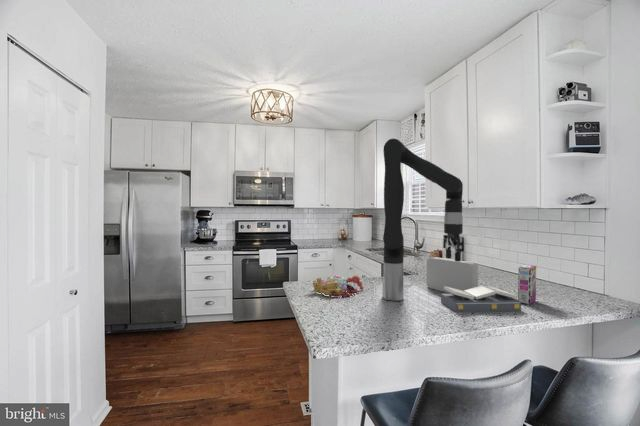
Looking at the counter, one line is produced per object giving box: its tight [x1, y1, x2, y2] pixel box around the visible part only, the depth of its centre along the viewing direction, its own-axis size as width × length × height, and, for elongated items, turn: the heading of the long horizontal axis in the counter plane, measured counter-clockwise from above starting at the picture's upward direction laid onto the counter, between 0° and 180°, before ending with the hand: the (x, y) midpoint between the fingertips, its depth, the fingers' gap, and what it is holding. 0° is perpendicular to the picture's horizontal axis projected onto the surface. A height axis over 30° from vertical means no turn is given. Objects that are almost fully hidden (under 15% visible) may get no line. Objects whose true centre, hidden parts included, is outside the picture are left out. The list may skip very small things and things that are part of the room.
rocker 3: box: [484, 285, 518, 300], centre depth 140 cm, size 8×11×1 cm
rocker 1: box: [444, 286, 474, 299], centre depth 139 cm, size 8×11×1 cm
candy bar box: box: [517, 264, 537, 306], centre depth 147 cm, size 11×5×16 cm, turn 134°
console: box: [440, 293, 522, 313], centre depth 140 cm, size 28×14×5 cm, turn 92°
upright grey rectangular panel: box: [426, 256, 479, 294], centre depth 166 cm, size 27×7×17 cm, turn 33°
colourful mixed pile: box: [312, 274, 364, 298], centre depth 165 cm, size 25×24×9 cm
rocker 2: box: [464, 285, 496, 299], centre depth 140 cm, size 8×11×1 cm
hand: (453, 259), depth 140 cm, fingers open, 8 cm apart
